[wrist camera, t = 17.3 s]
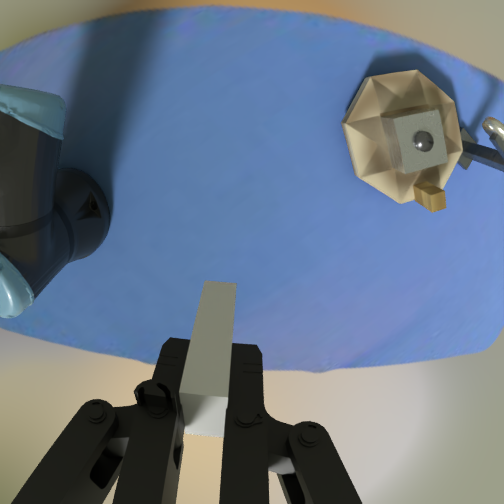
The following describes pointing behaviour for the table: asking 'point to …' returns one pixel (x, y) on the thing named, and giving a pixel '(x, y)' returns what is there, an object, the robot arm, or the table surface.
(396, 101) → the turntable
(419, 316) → the table surface
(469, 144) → the dial post
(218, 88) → the table surface
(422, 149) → the cover
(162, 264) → the table surface
